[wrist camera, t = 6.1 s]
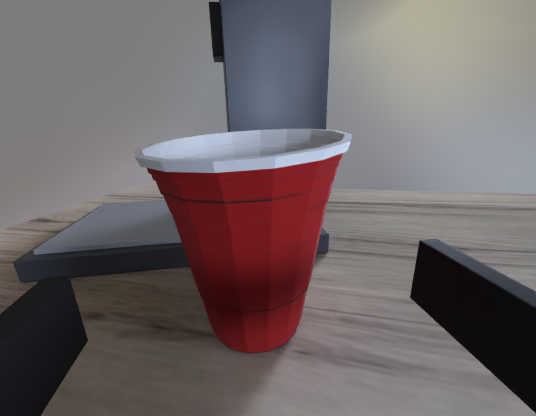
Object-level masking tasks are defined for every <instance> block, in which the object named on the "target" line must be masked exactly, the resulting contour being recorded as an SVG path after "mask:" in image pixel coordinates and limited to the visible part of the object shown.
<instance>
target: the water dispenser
mask: <svg viewBox="0 0 536 416" xmlns="http://www.w3.org/2000/svg"><path fill="white" fill-rule="evenodd" d="M209 11H210V23H211V35H212V48H213V58H214V62H223V66H224V81H225V96H226V110H227V125H228V132H238V131H252V130H270V129H322V130H326V115H327V92H328V67H329V43H330V20H331V0H219V2H209ZM328 242H329V234H328V233H327V232H326V231H325V230H324V229H323V228H321V233H320V238H319V242H318V247H317V252H316V253H325V252H328ZM13 263H14V266H15V269H16V272H17V274H18V277H19V280H20V282H29V281H39V280H42V279H43V278H46V277H57V276H67V275H69V278H70V277H80V276H90V275H100V274H110V273H121V272H131V271H141V270H151V269H162V268H172V267H182V266H190V265H189V262H188V259H187V256H186V254H185V251H184V248H183V245H182V242H181V239H180V236H179V233H178V230H177V227H176V224H175V222H174V219H173V216H172V213H170V210H169V208H168V206H167V204H166V201H165V200H163V201H147V202H131V203H115V204H103V205H102V206H100V207H98V208H96V209H95V210H93V211H92V212H90V213H89V214H87V215H86V216H84V217H82V218H81V219H79V220H78V221H76V222H75V223H73V224H71V225H70V226H68V227H67V228H65V229H64V230H62V231H61V232H59V233H57V234H56V235H54V236H53V237H51V238H50V239H48V240H47V241H45V242H43V243H42V244H40V245H39V246H37V247H36V248H34V249H33V250H31V251H29V252H28V253H26V254H25V255H23V256H22V257H20V258H18V259H17V260H15V261H14V262H13Z"/></svg>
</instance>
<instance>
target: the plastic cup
mask: <svg viewBox="0 0 536 416" xmlns="http://www.w3.org/2000/svg"><path fill="white" fill-rule="evenodd" d="M351 138H352V135H351V134H348V133H344V132H340V131H334V130H322V129H270V130H252V131H238V132H227V133H218V134H208V135H200V136H193V137H187V138H181V139H174V140H169V141H165V142H160V143H156V144H151V145H148V146H146V147H143V148H141V149H138V150H136V151H134V154H135V158H136V160H137V162H138V163H139V165H140V166H141V167H145V168H147V170H148V173H150V174H151V175H152V178H153V180H155V181H156V183H157V185H158V188H159V190H160V192H161V194H163V196H164V198H165V201H166V204H167V206H168V208H169V210H170V213H172V216H173V219H174V222H175V224H176V227H177V230H178V233H179V236H180V239H181V242H182V245H183V248H184V251H185V254H186V256H187V259H188V262H189V265H190V268H191V271H192V274H193V277H194V280H195V283H196V285H197V288H198V290H199V293H200V295H201V297H202V299H203V302H204V305H205V309H206V312H207V315H208V318H209V321H210V323H211V326H212V328H213V331H214V332H215V333H216V335H217V338H218V339H219V340H220V341H221V342H223V343H224V344H225V345H226V346H228V347H229V348H231V349H234V350H238V351H242V352H246V353H255V352H267V351H270V350H272V349H274V348H276V347H279V346H281V345H283V344H285V343H286V342H287V341H288V340H289V339H290V338H291V337H292V336H293V335H294V334H295V332H296V328H297V326H298V325H299V321H300V318H301V315H302V311H303V306H304V301H305V296H306V291H307V288H308V285H309V282H310V279H311V275H312V270H313V266H314V261H315V256H316V252H317V247H318V242H319V238H320V233H321V228H322V223H323V219H324V214H325V209H326V205H327V201H328V199H329V196H330V193H331V188H332V183H333V181H334V178H335V175H336V172H337V167H338V165H339V162H340V159H341V158H342V155H343V152H346V151H347V150H348V147H349V145H350V142H351Z"/></svg>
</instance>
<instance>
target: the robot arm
mask: <svg viewBox="0 0 536 416" xmlns="http://www.w3.org/2000/svg"><path fill="white" fill-rule="evenodd" d="M410 298H411V299H412V300H413V301H415V302H416V303H417V304H418V305H419V306H420V307H421V308H422V309H423V310H424V311H425V312H426V313H428V314H429V315H430V316H431V317H432V318H433V319H434V320H435V321H436V322H437V323H438V324H440V325H441V326H442V327H443V328H444V329H445V330H446V331H447V332H448V333H449V334H450V335H451V336H453V337H454V338H455V339H456V340H457V341H458V342H459V343H460V344H461V345H462V346H463V347H465V348H466V349H467V350H468V351H469V352H470V353H471V354H472V355H473V356H474V357H475V358H476V359H478V360H479V361H480V362H481V363H482V364H483V365H484V366H485V367H486V368H487V369H488V370H490V371H491V372H492V373H493V374H494V375H495V376H496V377H497V378H498V379H499V380H500V381H501V382H503V383H504V384H505V385H506V386H507V387H508V388H509V389H510V390H511V391H512V392H513V393H515V394H516V395H517V396H518V397H519V398H520V399H521V400H522V401H523V402H524V403H525V404H526V405H528V406H529V407H530V408H531V409H532V410H533V411H534V412H535V413H536V292H535V291H533V290H532V289H530V288H528V287H526V286H524V285H522V284H520V283H518V282H517V281H515V280H513V279H511V278H509V277H507V276H505V275H503V274H501V273H500V272H498V271H496V270H494V269H492V268H490V267H488V266H486V265H485V264H483V263H481V262H479V261H477V260H475V259H473V258H471V257H469V256H468V255H466V254H464V253H462V252H460V251H458V250H456V249H454V248H453V247H451V246H449V245H447V244H445V243H443V242H441V241H439V240H438V239H430V240H420V241H419V247H418V253H417V259H416V265H415V271H414V277H413V283H412V289H411V295H410ZM87 341H88V339H87V336H86V332H85V329H84V325H83V322H82V319H81V315H80V312H79V308H78V305H77V302H76V298H75V295H74V291H73V288H72V285H71V281H70V278H69V275H67V276H57V277H46V278H43V279H42V280H40V281H39V282H38V283H37V284H36V285H34V286H33V287H32V288H31V289H30V290H28V291H27V292H26V293H25V294H24V295H23V296H21V297H20V298H19V299H18V300H17V301H15V302H14V303H13V304H12V305H11V306H10V307H8V308H7V309H6V310H5V311H4V312H2V313H1V314H0V416H40V415H41V414H42V412H43V411H44V409H45V407H46V406H47V404H48V403H49V401H50V400H51V398H52V396H53V395H54V393H55V392H56V390H57V389H58V387H59V385H60V384H61V382H62V381H63V379H64V377H65V376H66V374H67V373H68V371H69V370H70V368H71V366H72V365H73V363H74V362H75V360H76V358H77V357H78V355H79V354H80V352H81V351H82V349H83V347H84V346H85V344H86V343H87Z"/></svg>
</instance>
